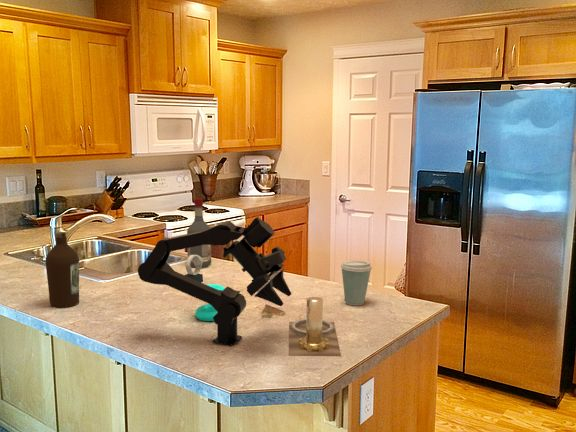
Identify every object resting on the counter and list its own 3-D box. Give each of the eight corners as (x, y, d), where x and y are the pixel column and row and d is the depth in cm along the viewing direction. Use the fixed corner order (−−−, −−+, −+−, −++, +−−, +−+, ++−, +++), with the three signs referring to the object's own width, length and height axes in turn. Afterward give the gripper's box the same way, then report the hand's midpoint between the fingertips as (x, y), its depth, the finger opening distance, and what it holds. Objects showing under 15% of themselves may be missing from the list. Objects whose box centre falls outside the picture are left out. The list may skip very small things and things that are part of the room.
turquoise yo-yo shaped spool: (230, 289, 174) (199, 293, 170) (230, 320, 175) (199, 324, 171) (221, 281, 183) (191, 284, 179) (221, 310, 184) (192, 314, 180)
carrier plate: (341, 359, 146) (341, 351, 145) (288, 359, 146) (288, 351, 145) (333, 325, 171) (334, 318, 171) (289, 324, 171) (289, 317, 171)
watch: (205, 280, 220) (205, 253, 219) (193, 285, 213) (193, 257, 212) (194, 278, 223) (193, 252, 221) (181, 283, 216) (181, 256, 214)
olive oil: (42, 308, 184) (38, 235, 180) (55, 299, 195) (51, 229, 191) (75, 308, 184) (71, 235, 181) (85, 299, 195) (82, 230, 191)
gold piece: (324, 354, 147) (325, 305, 144) (294, 349, 149) (295, 301, 147) (332, 343, 154) (333, 296, 152) (304, 338, 157) (305, 293, 155)
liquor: (186, 267, 240) (184, 199, 236) (193, 262, 249) (192, 197, 245) (206, 268, 239) (205, 200, 234) (212, 263, 248) (211, 198, 243)
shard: (265, 308, 188) (265, 303, 188) (287, 309, 187) (287, 304, 187) (260, 319, 178) (260, 313, 178) (283, 320, 177) (283, 314, 177)
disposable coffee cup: (333, 303, 193) (334, 261, 191) (352, 296, 201) (353, 256, 199) (358, 309, 186) (359, 266, 184) (376, 302, 194) (377, 261, 192)
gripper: (258, 246, 142) (299, 291, 141) (277, 233, 160) (313, 273, 159) (229, 273, 145) (269, 317, 144) (251, 258, 163) (286, 297, 162)
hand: (286, 300), depth 152 cm, fingers open, 9 cm apart
